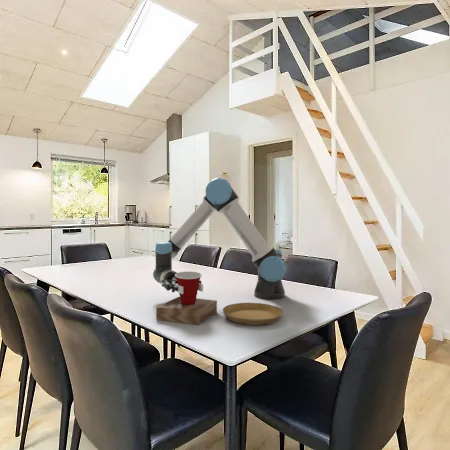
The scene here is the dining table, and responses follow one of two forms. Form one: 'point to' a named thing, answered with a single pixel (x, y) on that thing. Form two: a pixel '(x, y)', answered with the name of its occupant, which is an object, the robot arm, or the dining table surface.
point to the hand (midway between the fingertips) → (192, 289)
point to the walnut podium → (186, 311)
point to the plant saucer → (252, 313)
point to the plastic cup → (188, 286)
